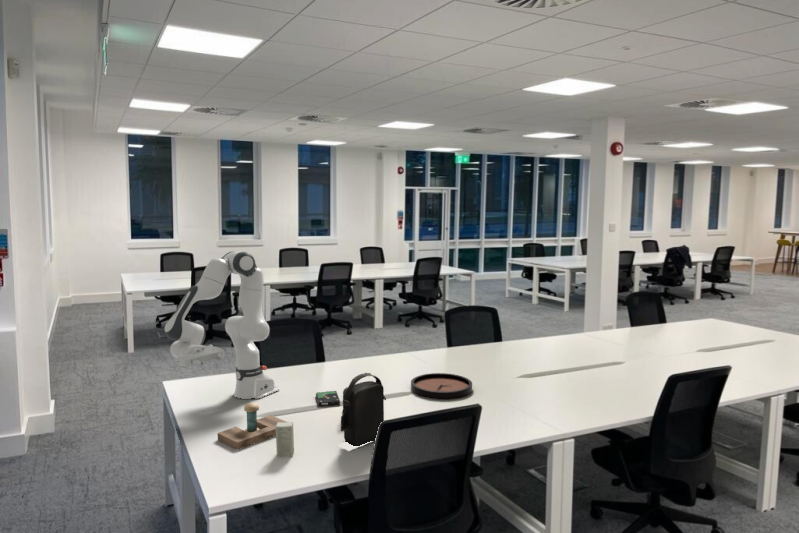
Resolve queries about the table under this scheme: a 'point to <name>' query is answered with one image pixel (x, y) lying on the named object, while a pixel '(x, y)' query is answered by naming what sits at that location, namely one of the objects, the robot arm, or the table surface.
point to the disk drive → (327, 398)
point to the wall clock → (441, 386)
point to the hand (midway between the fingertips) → (211, 360)
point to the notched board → (242, 438)
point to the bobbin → (251, 417)
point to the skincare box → (284, 439)
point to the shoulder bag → (362, 410)
